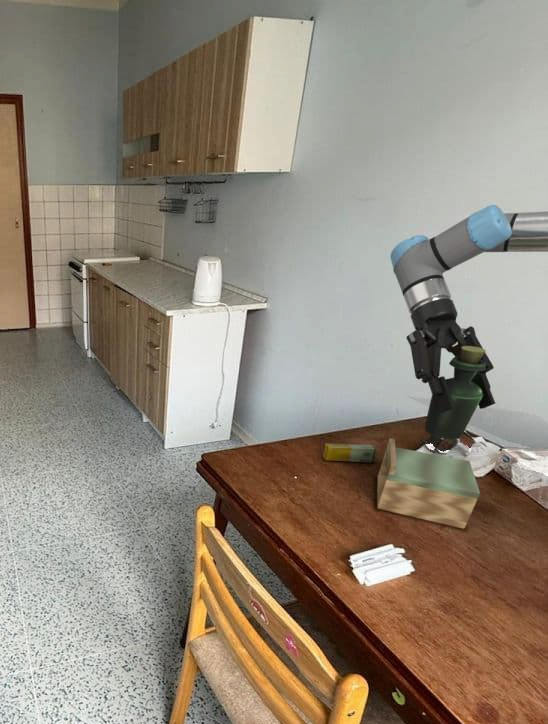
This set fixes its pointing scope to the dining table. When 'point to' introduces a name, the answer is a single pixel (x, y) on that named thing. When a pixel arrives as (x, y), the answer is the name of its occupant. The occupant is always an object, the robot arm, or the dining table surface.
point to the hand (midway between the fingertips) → (468, 407)
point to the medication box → (349, 452)
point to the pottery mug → (450, 442)
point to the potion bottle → (458, 396)
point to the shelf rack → (427, 486)
